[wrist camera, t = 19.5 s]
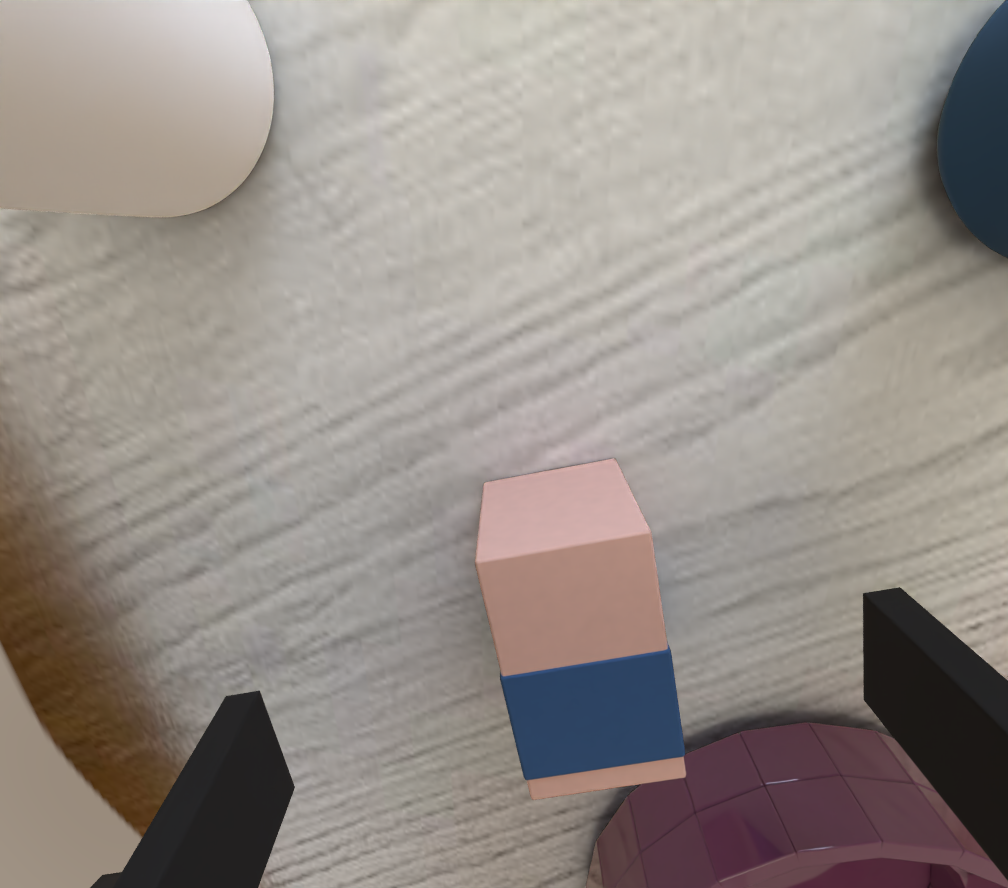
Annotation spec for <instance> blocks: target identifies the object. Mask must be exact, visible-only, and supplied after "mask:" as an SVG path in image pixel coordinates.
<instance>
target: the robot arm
mask: <svg viewBox="0 0 1008 888" xmlns="http://www.w3.org/2000/svg"><path fill="white" fill-rule="evenodd" d="M863 654H864V701H865V702H866V703H867V704H868V706H869V707H870V708H871V709H872V711H873V712H874V713H875V715H876V716H877V717H878V718H879V720H880V721H881V722H882V723H883V725H884V726H885V727H886V728H887V730H888V731H889V732H890V733H891V735H892V736H893V737H894V738H895V740H896V741H897V742H898V743H899V745H900V746H901V747H902V748H903V750H904V751H905V752H906V754H907V755H908V756H909V757H910V759H911V760H912V761H913V762H914V764H915V765H916V766H917V767H918V769H919V770H920V771H921V772H922V774H923V775H924V776H925V777H926V779H927V780H928V781H929V782H930V784H931V785H932V786H933V788H934V789H935V790H936V791H937V793H938V794H939V795H940V796H941V798H942V799H943V800H944V801H945V803H946V804H947V805H948V806H949V808H950V809H951V810H952V811H953V813H954V814H955V815H956V816H957V818H958V819H959V820H960V821H961V823H962V824H963V825H964V827H965V828H966V829H967V830H968V832H969V833H970V834H971V835H972V837H973V838H974V839H975V840H976V842H977V843H978V844H979V845H980V847H981V848H982V849H983V850H984V852H985V853H986V854H987V855H988V857H989V858H990V859H991V861H992V862H993V863H994V864H995V866H996V867H997V868H998V869H999V871H1000V872H1001V873H1002V874H1003V876H1004V877H1005V878H1006V879H1007V881H1008V681H1007V680H1006V679H1005V678H1004V677H1003V676H1002V675H1000V674H999V673H998V672H997V671H996V670H995V669H994V668H992V667H991V666H990V665H989V664H988V663H987V662H986V661H984V660H983V659H982V658H981V657H980V656H979V655H977V654H976V653H975V652H974V651H973V650H972V649H971V648H969V647H968V646H967V645H966V644H965V643H964V642H962V641H961V640H960V639H959V638H958V637H957V636H956V635H954V634H953V633H952V632H951V631H950V630H949V629H947V628H946V627H945V626H944V625H943V624H942V623H941V622H939V621H938V620H937V619H936V618H935V617H934V616H932V615H931V614H930V613H929V612H928V611H927V610H926V609H924V608H923V607H922V606H921V605H920V604H919V603H917V602H916V601H915V600H914V599H913V598H912V597H911V596H909V595H908V594H907V593H906V592H905V591H904V590H902V589H901V588H900V587H899V588H893V589H887V590H881V591H875V592H869V593H863ZM294 788H295V786H294V784H293V781H292V778H291V775H290V773H289V770H288V767H287V764H286V762H285V759H284V756H283V753H282V751H281V748H280V745H279V743H278V740H277V737H276V734H275V732H274V729H273V726H272V723H271V721H270V718H269V715H268V712H267V710H266V707H265V704H264V701H263V699H262V696H261V693H260V691H255V692H249V693H243V694H237V695H231V696H226V697H225V699H224V700H223V702H222V704H221V706H220V707H219V709H218V711H217V712H216V714H215V716H214V717H213V719H212V721H211V722H210V724H209V726H208V728H207V729H206V731H205V733H204V734H203V736H202V738H201V739H200V741H199V743H198V744H197V746H196V748H195V750H194V751H193V753H192V755H191V756H190V758H189V760H188V761H187V763H186V765H185V766H184V768H183V770H182V772H181V773H180V775H179V777H178V778H177V780H176V782H175V783H174V785H173V787H172V789H171V790H170V792H169V794H168V795H167V797H166V799H165V800H164V802H163V804H162V805H161V807H160V809H159V811H158V812H157V814H156V816H155V817H154V819H153V821H152V822H151V824H150V826H149V827H148V829H147V831H146V833H145V834H144V836H143V838H142V839H141V841H140V843H139V845H138V846H137V848H136V850H135V851H134V853H133V855H132V856H131V858H130V860H129V862H128V863H127V865H126V866H125V868H124V870H123V871H122V872H120V873H113V874H106V875H102V876H101V877H100V878H99V879H98V880H97V881H96V882H95V883H94V884H93V885H92V886H91V888H258V886H259V884H260V881H261V878H262V875H263V873H264V870H265V867H266V864H267V862H268V859H269V856H270V854H271V851H272V848H273V845H274V843H275V840H276V837H277V835H278V832H279V829H280V826H281V824H282V821H283V818H284V815H285V813H286V810H287V807H288V805H289V802H290V799H291V796H292V794H293V791H294Z"/></svg>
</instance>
